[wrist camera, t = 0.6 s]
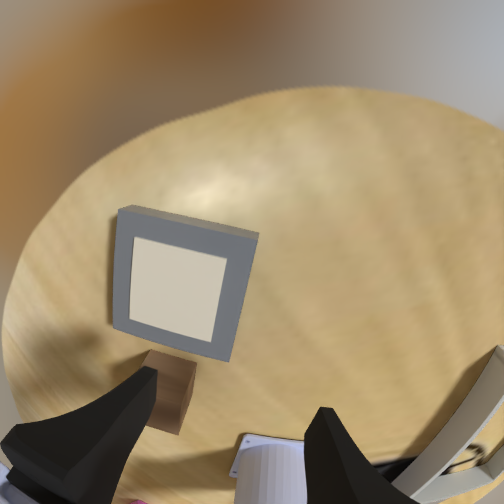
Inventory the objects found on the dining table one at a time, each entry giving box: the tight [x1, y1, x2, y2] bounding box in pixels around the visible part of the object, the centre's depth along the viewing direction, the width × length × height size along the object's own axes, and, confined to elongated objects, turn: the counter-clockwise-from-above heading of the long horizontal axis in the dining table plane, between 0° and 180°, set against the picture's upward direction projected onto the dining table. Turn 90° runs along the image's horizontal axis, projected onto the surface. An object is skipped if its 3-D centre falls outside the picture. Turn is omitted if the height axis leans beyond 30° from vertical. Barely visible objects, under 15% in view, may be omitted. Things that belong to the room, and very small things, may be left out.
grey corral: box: [391, 345, 504, 504], centre depth 22 cm, size 26×24×4 cm
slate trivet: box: [113, 205, 259, 362], centre depth 19 cm, size 9×9×2 cm
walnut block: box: [138, 349, 197, 435], centre depth 21 cm, size 4×4×5 cm
